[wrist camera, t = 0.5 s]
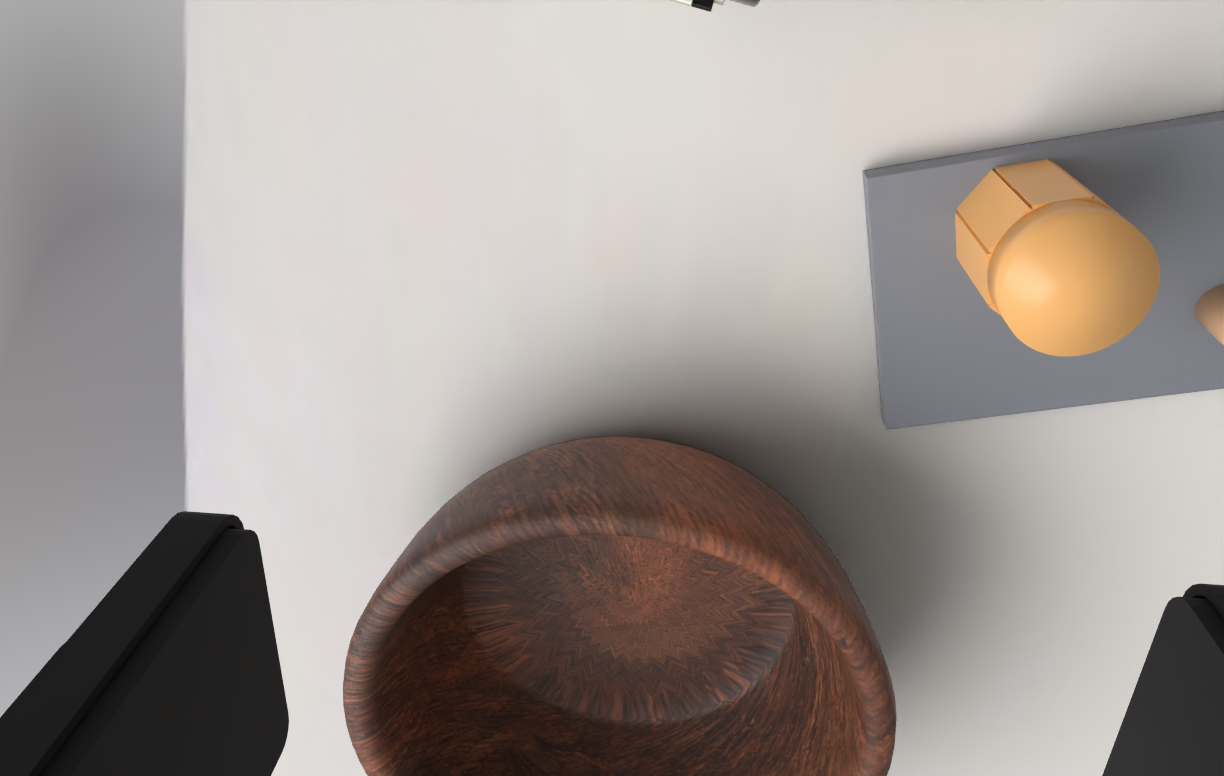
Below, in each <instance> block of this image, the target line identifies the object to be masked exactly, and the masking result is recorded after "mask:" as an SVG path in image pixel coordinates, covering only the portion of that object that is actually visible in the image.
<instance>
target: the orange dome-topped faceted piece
mask: <svg viewBox="0 0 1224 776" xmlns="http://www.w3.org/2000/svg"><path fill="white" fill-rule="evenodd" d="M956 209H957V210H958V212H955V227H956V257H957V259H958V261H959V262H960V264H961V265H962V267H963V268H964V270H965V271H966V273H967V274H968V276H969V277H970V279H971V280H972V282H973V283H974V285H975V287H976V288H977V290H978V291H979V293H980V294H981V296H982V297H983V299H984V300H985V302H986V303H987V305H988V306H989V307H990V308H991V309H993V310H994V311H995V312H997V313H998V314H999V315H1001V316H1002V318H1003V319H1004V321H1005V322H1006V323H1007V325H1008V326H1009V328H1010V329H1011V331H1012V332H1013V333H1014V335H1015V336H1016V337H1017V338H1018V339H1019V340H1020V341H1021V342H1023V343H1024V344H1025V345H1027V346H1029V347H1030V348H1032V349H1034V350H1036V351H1039V352H1041V353H1045V354H1048V355H1054V356H1066V357H1069V356H1080V355H1085V354H1090V353H1093V352H1097V351H1099V350H1102V349H1104V348H1107V347H1109V346H1111V345H1113V344H1114V343H1116V342H1118V341H1119V340H1121V339H1122V338H1124V337H1125V336H1127V335H1128V334H1129V333H1130V332H1131V331H1133V330H1134V329H1135V328H1136V327H1137V326H1138V325H1139V324H1140V322H1141V321H1142V320H1143V319H1144V317H1145V316H1146V315H1147V313H1148V312H1149V310H1150V308H1151V307H1152V305H1153V302H1154V300H1155V298H1156V295H1157V292H1158V288H1159V282H1160V266H1159V260H1158V257H1157V254H1156V251H1155V250H1154V248H1153V246H1152V244H1151V243H1150V242H1149V240H1148V239H1147V238H1146V237H1145V236H1144V235H1143V234H1142V233H1141V232H1140V231H1139V230H1137V228H1136V227H1135V226H1133V225H1132V224H1131V223H1130V222H1129V221H1127V220H1126V219H1125V218H1124V217H1122V216H1121V215H1120V214H1119V213H1117V212H1116V211H1115V210H1114V209H1113V208H1111V207H1110V206H1109V205H1108V204H1106V203H1105V202H1104V201H1103V200H1101V199H1100V198H1099V197H1098V196H1097V195H1095V194H1094V193H1093V192H1092V191H1090V190H1089V189H1088V188H1087V187H1085V186H1084V185H1083V184H1081V183H1080V182H1079V181H1078V180H1076V179H1075V178H1074V177H1072V176H1071V175H1070V174H1069V173H1067V172H1066V171H1065V170H1063V169H1062V168H1061V167H1060V166H1058V165H1057V164H1056V163H1054V162H1053V161H1052V160H1050V161H1049V160H1048V159H1044V160H1038V161H1032V162H1026V163H1019V164H1013V165H1007V166H1001V167H995V172H994V171H993V170H992V169H991V171H990V172H989V173H988V174H987V175H986V176H985V177H984V178H983V180H982V181H981V182H980V183H979V184H978V185H977V186H976V187H975V188H974V190H973V191H972V192H971V193H970V194H969V195H968V196H967V197H966V198H965V200H964V201H963V202H962V203H961V204H960V205H959V206H958V207H957V208H956Z"/></svg>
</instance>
